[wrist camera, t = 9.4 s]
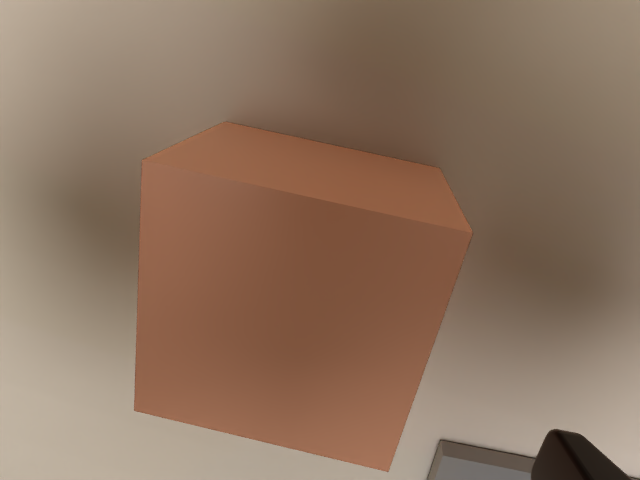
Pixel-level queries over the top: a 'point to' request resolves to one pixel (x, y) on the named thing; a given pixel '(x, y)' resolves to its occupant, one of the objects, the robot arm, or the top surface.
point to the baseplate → (478, 464)
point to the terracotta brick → (291, 289)
